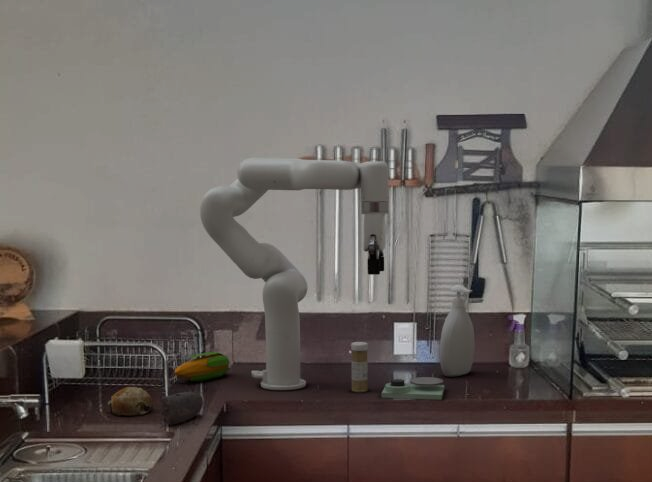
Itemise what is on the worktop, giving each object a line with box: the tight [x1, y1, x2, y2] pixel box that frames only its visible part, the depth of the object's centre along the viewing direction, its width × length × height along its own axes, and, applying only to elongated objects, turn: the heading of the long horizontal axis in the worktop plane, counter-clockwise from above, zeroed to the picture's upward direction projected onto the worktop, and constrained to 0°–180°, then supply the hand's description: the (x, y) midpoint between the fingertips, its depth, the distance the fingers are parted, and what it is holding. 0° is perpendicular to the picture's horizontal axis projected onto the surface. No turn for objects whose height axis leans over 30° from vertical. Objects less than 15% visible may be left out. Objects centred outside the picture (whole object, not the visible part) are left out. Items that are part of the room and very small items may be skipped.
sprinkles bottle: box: [350, 341, 369, 393], centre depth 245 cm, size 5×5×14 cm
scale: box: [380, 382, 445, 401], centre depth 243 cm, size 16×12×3 cm
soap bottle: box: [439, 284, 475, 378], centre depth 267 cm, size 14×8×27 cm, turn 137°
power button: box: [390, 378, 405, 387], centre depth 241 cm, size 4×4×2 cm
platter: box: [410, 376, 444, 386], centre depth 244 cm, size 9×9×1 cm
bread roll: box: [107, 386, 154, 417], centre depth 221 cm, size 10×10×8 cm
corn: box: [173, 351, 231, 382], centre depth 259 cm, size 7×8×20 cm
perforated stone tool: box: [159, 391, 204, 426], centre depth 213 cm, size 15×5×7 cm, turn 155°
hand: (376, 272), depth 242 cm, fingers open, 9 cm apart
